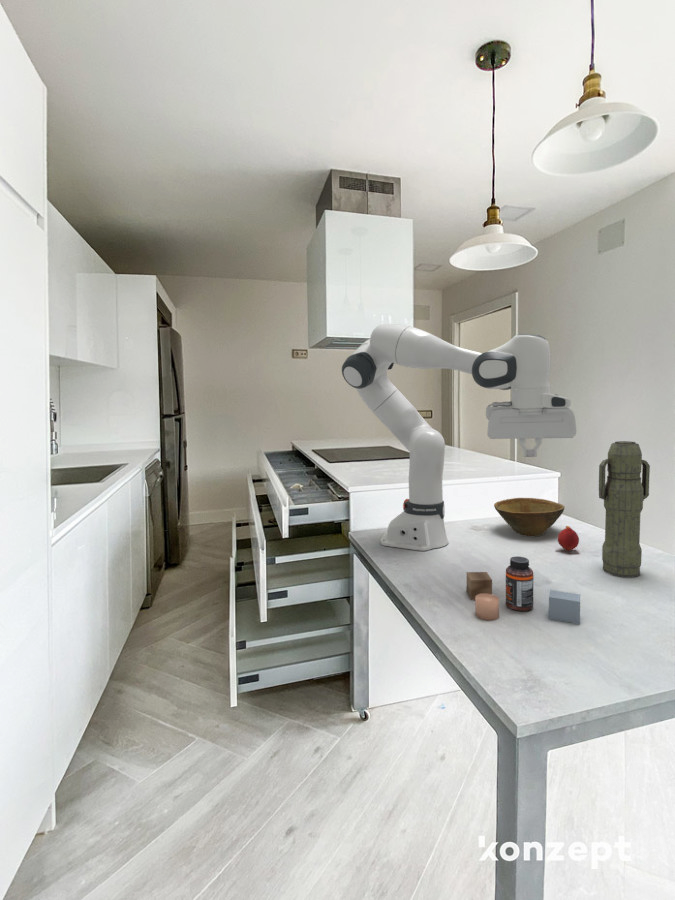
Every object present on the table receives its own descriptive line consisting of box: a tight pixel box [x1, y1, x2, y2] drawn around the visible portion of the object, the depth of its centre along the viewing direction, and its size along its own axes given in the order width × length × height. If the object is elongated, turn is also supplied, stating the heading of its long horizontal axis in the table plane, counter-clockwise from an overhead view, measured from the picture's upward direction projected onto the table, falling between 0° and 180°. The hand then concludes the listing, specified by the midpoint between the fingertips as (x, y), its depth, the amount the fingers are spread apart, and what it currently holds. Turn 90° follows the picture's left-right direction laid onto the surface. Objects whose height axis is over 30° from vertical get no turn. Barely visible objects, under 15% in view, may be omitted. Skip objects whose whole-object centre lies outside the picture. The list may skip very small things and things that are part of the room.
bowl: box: [493, 497, 565, 537], centre depth 159 cm, size 22×23×10 cm
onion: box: [557, 525, 580, 552], centre depth 139 cm, size 6×6×8 cm
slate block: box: [548, 589, 581, 625], centre depth 99 cm, size 6×4×5 cm, turn 61°
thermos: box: [598, 440, 651, 578], centre depth 120 cm, size 9×12×35 cm
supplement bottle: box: [505, 555, 534, 612], centre depth 104 cm, size 6×6×11 cm
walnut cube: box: [465, 571, 493, 601], centre depth 111 cm, size 5×5×5 cm
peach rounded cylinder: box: [474, 593, 500, 621], centre depth 101 cm, size 5×5×4 cm
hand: (529, 456), depth 113 cm, fingers closed
